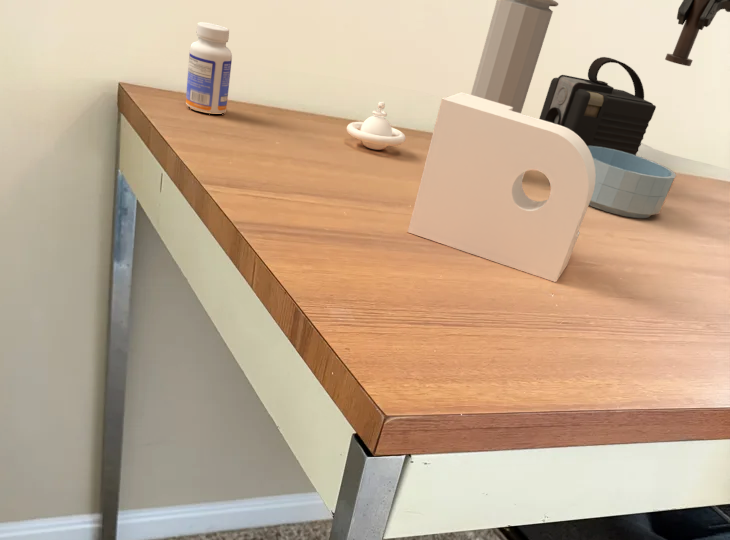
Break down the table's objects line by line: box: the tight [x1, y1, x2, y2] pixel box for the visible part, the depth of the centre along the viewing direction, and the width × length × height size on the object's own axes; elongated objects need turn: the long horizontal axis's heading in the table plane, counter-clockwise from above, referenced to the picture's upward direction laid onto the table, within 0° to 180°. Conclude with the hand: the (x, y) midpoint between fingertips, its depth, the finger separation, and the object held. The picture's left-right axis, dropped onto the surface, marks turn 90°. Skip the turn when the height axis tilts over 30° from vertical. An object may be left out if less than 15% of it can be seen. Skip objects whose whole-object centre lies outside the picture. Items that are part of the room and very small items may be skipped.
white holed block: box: [407, 91, 596, 283], centre depth 84 cm, size 16×10×13 cm, turn 66°
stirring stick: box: [664, 0, 710, 67], centre depth 124 cm, size 4×4×12 cm
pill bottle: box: [185, 21, 233, 114], centre depth 106 cm, size 5×5×10 cm
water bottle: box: [470, 0, 559, 114], centre depth 108 cm, size 9×8×25 cm
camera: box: [538, 56, 657, 155], centre depth 122 cm, size 11×14×15 cm
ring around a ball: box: [346, 101, 406, 151], centre depth 110 cm, size 8×6×8 cm
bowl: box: [587, 145, 677, 219], centre depth 112 cm, size 13×13×6 cm
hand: (691, 22), depth 123 cm, fingers closed on stirring stick, 2 cm apart
